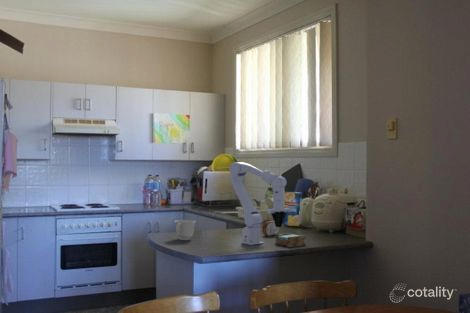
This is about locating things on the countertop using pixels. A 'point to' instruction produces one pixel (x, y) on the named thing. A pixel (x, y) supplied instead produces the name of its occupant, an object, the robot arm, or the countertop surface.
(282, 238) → the cover plate
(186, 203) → the countertop surface
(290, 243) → the box
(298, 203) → the beverage box
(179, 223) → the teacup
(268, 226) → the tin
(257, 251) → the countertop surface
